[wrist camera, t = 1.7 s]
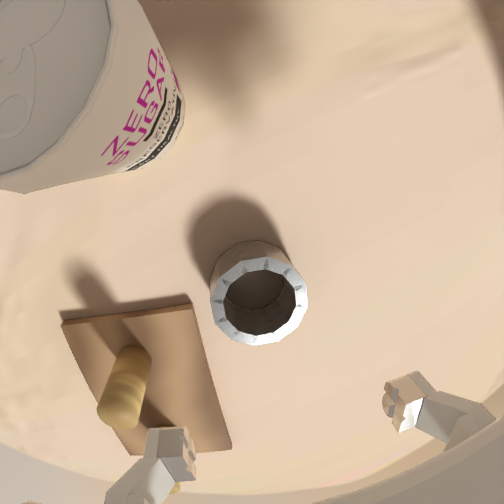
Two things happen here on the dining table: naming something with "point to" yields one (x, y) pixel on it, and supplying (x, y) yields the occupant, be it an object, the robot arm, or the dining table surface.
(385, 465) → the dining table surface
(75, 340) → the post board
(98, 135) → the supplement can
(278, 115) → the dining table surface
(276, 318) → the ring
